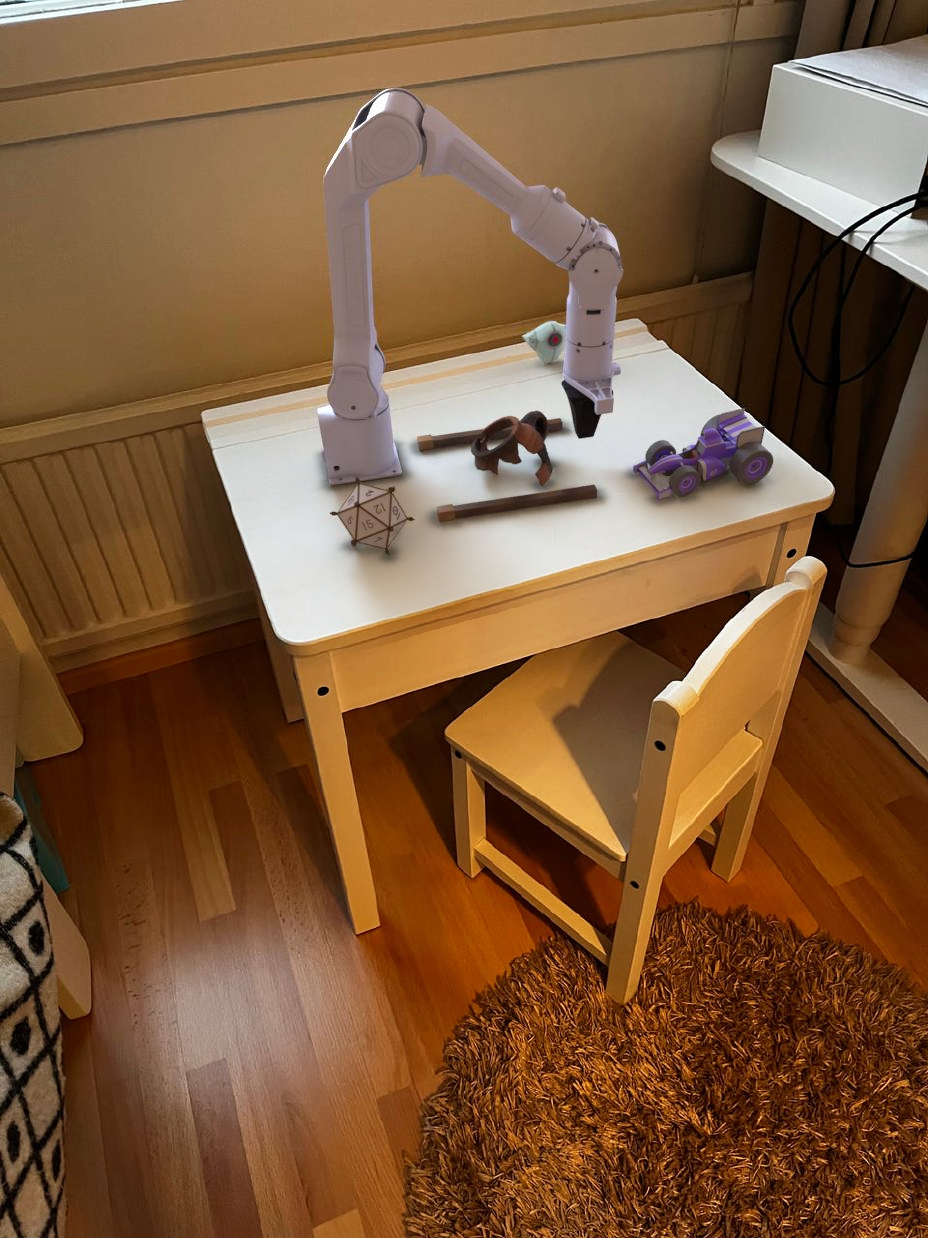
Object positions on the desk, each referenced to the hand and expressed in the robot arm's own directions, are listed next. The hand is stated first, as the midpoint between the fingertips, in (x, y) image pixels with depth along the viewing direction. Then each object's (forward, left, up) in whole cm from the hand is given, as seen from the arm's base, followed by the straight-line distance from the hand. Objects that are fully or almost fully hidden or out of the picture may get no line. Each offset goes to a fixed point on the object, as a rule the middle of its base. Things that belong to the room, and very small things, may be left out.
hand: (584, 435), depth 118 cm
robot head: (+2, +26, -4) cm, 26 cm away
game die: (-29, -11, -4) cm, 31 cm away
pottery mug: (-9, 0, -4) cm, 10 cm away
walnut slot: (-11, 0, -4) cm, 11 cm away
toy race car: (+13, -7, -4) cm, 15 cm away
